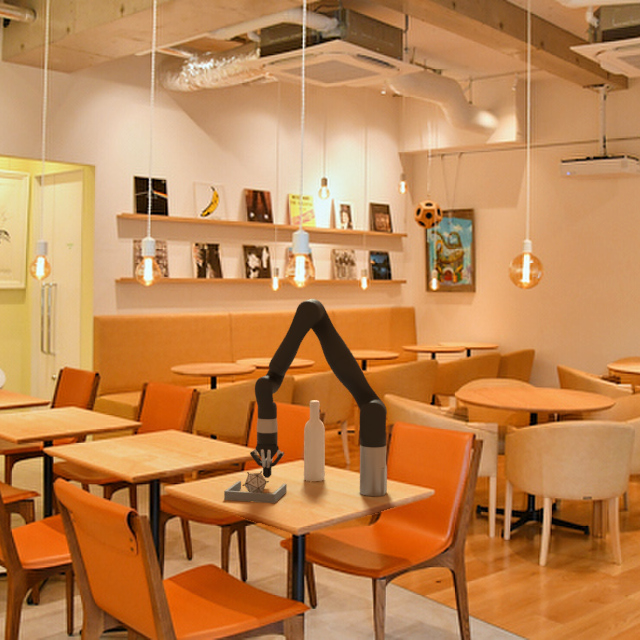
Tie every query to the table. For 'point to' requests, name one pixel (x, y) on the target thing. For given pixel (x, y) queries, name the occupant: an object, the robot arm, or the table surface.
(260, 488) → the game die
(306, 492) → the table surface
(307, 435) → the bottle
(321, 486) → the table surface
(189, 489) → the table surface
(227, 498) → the bay
